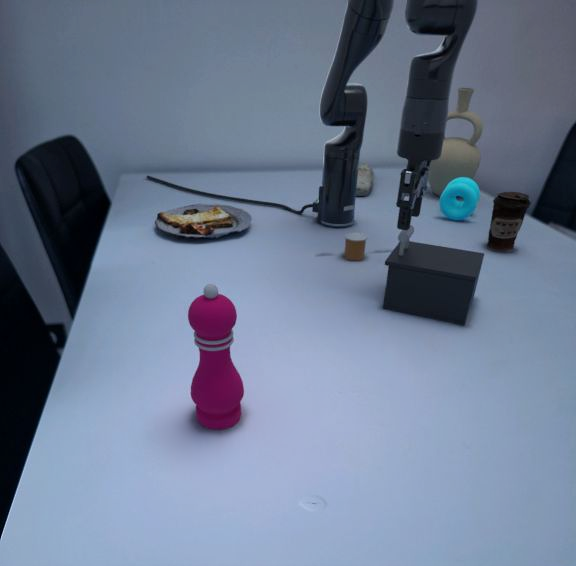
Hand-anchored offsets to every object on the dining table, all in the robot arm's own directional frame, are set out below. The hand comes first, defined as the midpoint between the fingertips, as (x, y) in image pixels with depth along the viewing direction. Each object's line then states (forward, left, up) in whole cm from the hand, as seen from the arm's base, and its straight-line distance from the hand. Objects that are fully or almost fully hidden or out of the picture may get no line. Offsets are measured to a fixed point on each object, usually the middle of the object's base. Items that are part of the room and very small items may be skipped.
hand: (408, 222), depth 99 cm
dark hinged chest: (+6, 0, -15) cm, 17 cm away
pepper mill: (-14, -49, -16) cm, 53 cm away
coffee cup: (+16, +39, -16) cm, 45 cm away
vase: (-4, +82, -16) cm, 83 cm away
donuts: (+2, +60, -16) cm, 62 cm away
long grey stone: (-34, +82, -16) cm, 90 cm away
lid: (+6, 0, -6) cm, 9 cm away
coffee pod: (-15, +17, -15) cm, 27 cm away
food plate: (-57, +19, -16) cm, 62 cm away
